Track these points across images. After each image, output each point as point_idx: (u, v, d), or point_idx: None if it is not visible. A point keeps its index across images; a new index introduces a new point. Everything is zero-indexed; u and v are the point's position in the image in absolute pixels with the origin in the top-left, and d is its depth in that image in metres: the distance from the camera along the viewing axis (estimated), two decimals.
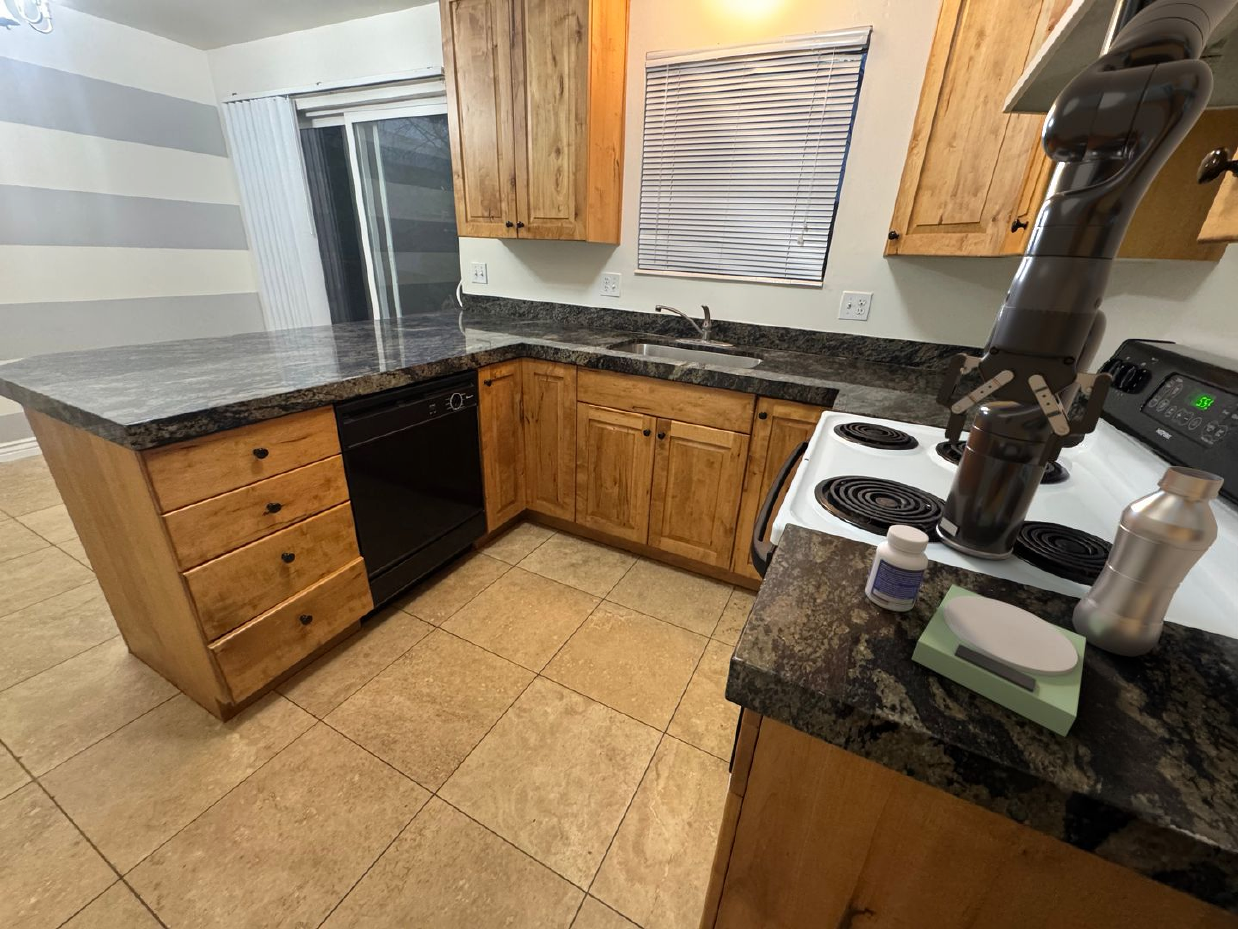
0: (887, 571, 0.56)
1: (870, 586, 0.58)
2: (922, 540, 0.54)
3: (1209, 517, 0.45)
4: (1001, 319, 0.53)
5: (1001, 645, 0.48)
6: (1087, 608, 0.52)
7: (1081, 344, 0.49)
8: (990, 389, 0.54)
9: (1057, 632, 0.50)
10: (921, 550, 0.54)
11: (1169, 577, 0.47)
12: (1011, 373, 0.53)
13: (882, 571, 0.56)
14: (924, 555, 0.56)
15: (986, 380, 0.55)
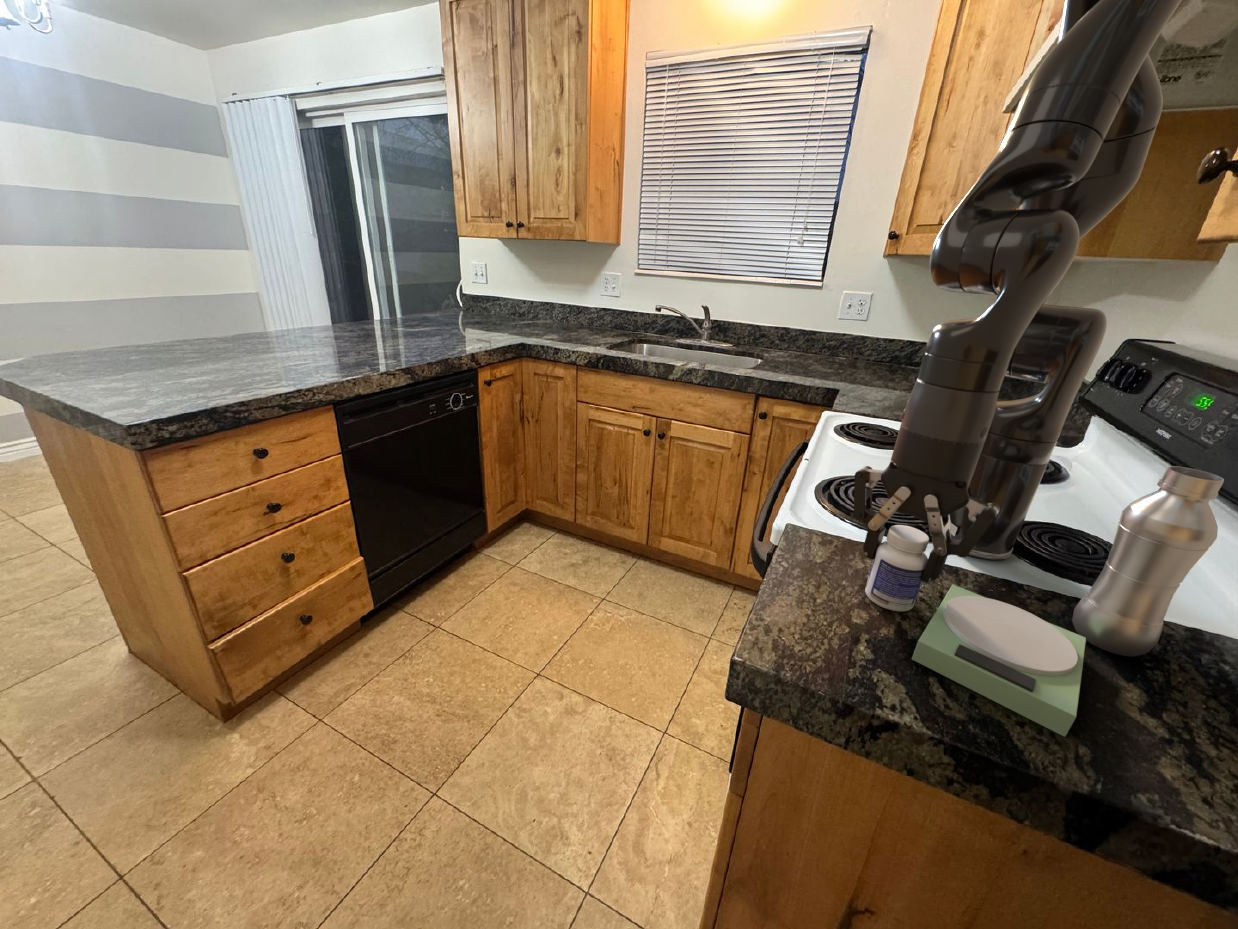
0: (887, 571, 0.56)
1: (870, 586, 0.58)
2: (922, 540, 0.54)
3: (1209, 517, 0.45)
4: (898, 436, 0.53)
5: (1001, 645, 0.48)
6: (1087, 608, 0.52)
7: (971, 470, 0.49)
8: (891, 502, 0.54)
9: (1057, 632, 0.50)
10: (921, 550, 0.54)
11: (1169, 577, 0.47)
12: (908, 490, 0.53)
13: (883, 571, 0.56)
14: (924, 555, 0.56)
15: (890, 496, 0.55)
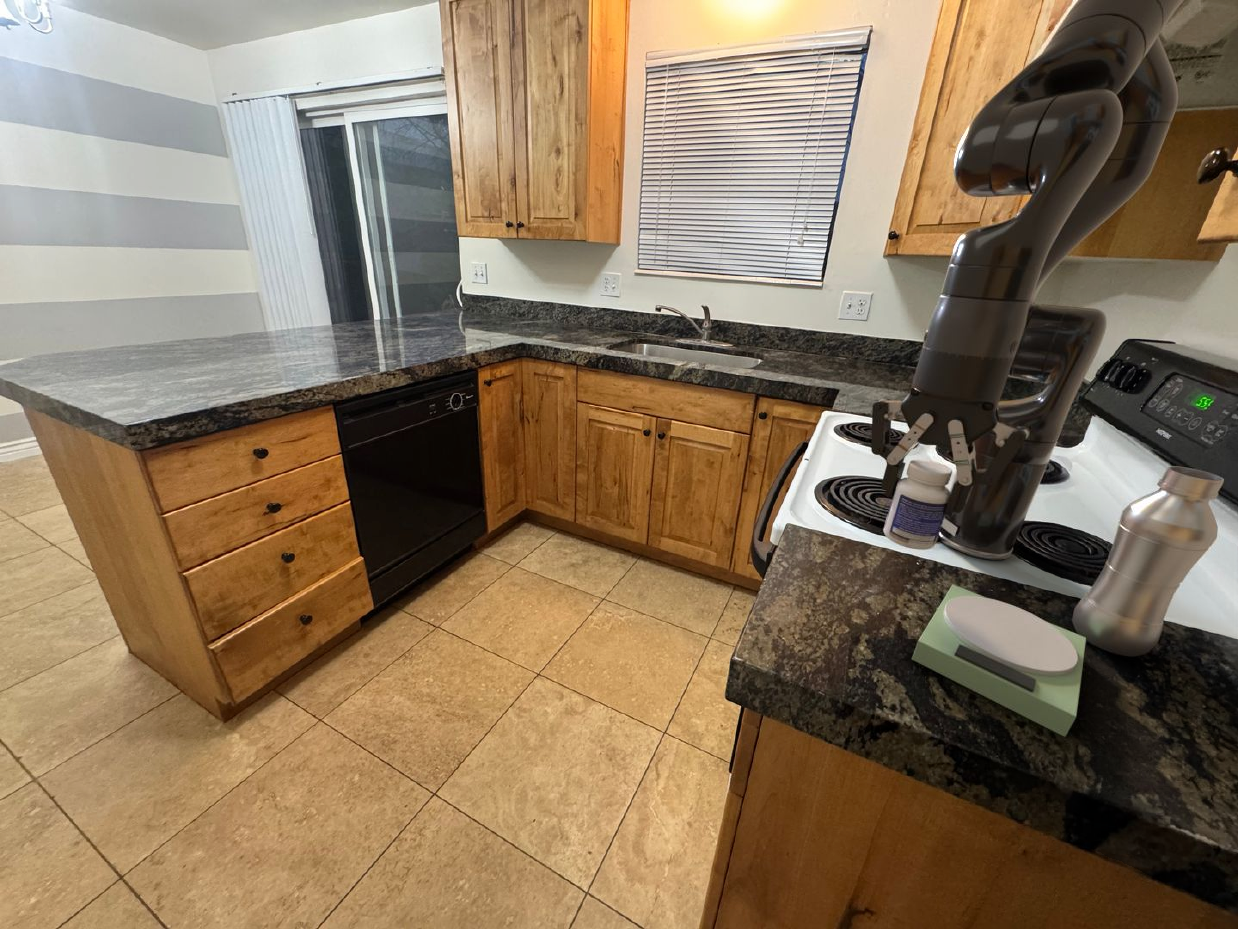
0: (908, 506, 0.53)
1: (889, 525, 0.55)
2: (945, 472, 0.51)
3: (1209, 517, 0.45)
4: (920, 360, 0.49)
5: (1001, 645, 0.48)
6: (1087, 608, 0.52)
7: (999, 389, 0.46)
8: (911, 432, 0.52)
9: (1057, 632, 0.50)
10: (944, 482, 0.51)
11: (1169, 577, 0.47)
12: (931, 417, 0.50)
13: (903, 507, 0.53)
14: (947, 489, 0.53)
15: (910, 426, 0.52)
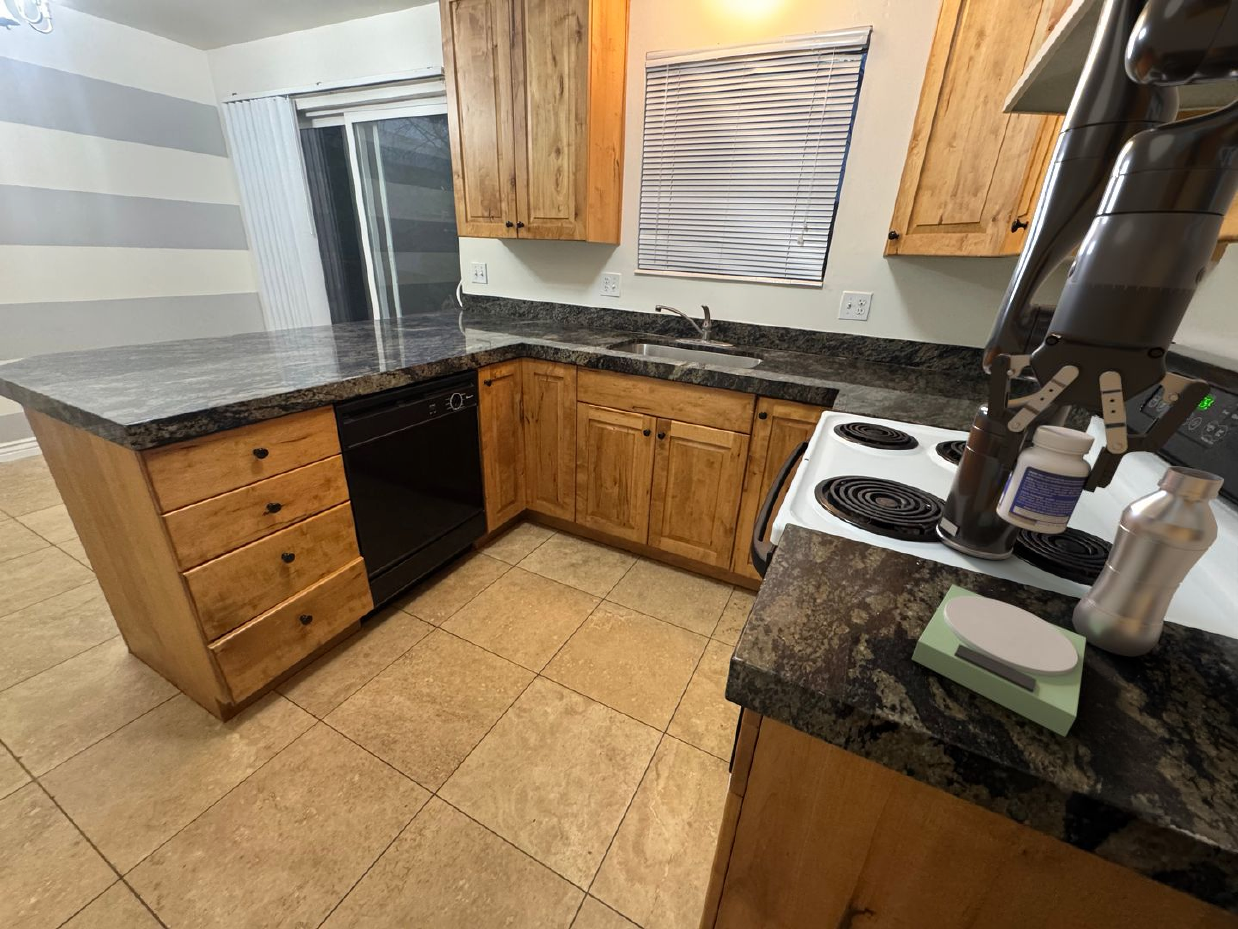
0: (1038, 481, 0.44)
1: (1008, 504, 0.46)
2: (1088, 438, 0.42)
3: (1209, 517, 0.45)
4: (1063, 299, 0.41)
5: (1001, 645, 0.48)
6: (1087, 608, 0.52)
7: (1174, 331, 0.37)
8: (1046, 390, 0.43)
9: (1057, 632, 0.50)
10: (1086, 451, 0.42)
11: (1169, 577, 0.47)
12: (1076, 369, 0.41)
13: (1030, 482, 0.44)
14: (1085, 460, 0.44)
15: (1043, 384, 0.43)
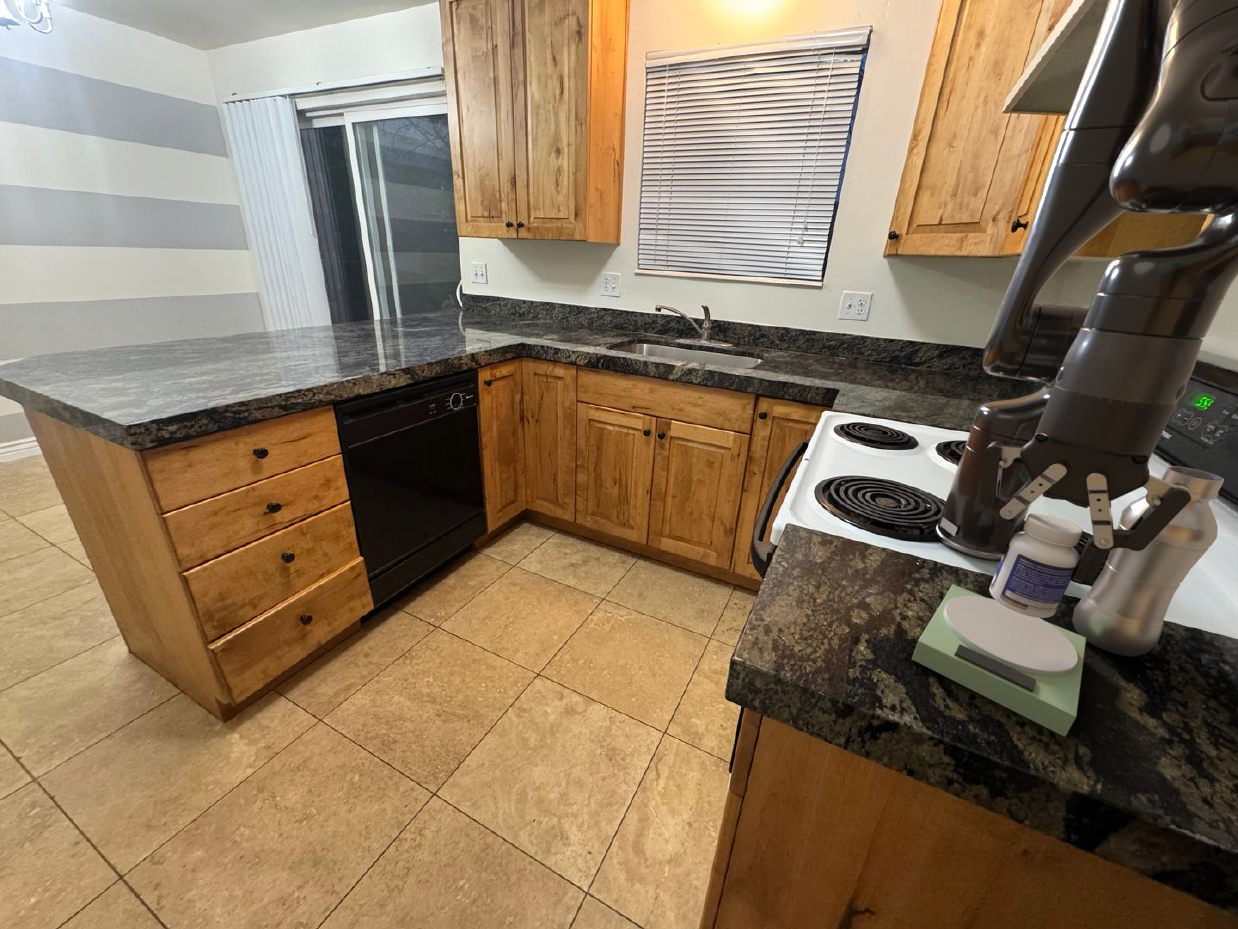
0: (1028, 569, 0.46)
1: (1000, 587, 0.48)
2: (1076, 531, 0.44)
3: (1209, 517, 0.45)
4: (1052, 402, 0.43)
5: (1001, 645, 0.48)
6: (1087, 608, 0.52)
7: (1157, 440, 0.39)
8: (1036, 484, 0.44)
9: (1057, 632, 0.50)
10: (1074, 543, 0.44)
11: (1169, 577, 0.47)
12: (1064, 468, 0.43)
13: (1021, 569, 0.46)
14: (1074, 549, 0.45)
15: (1033, 477, 0.45)
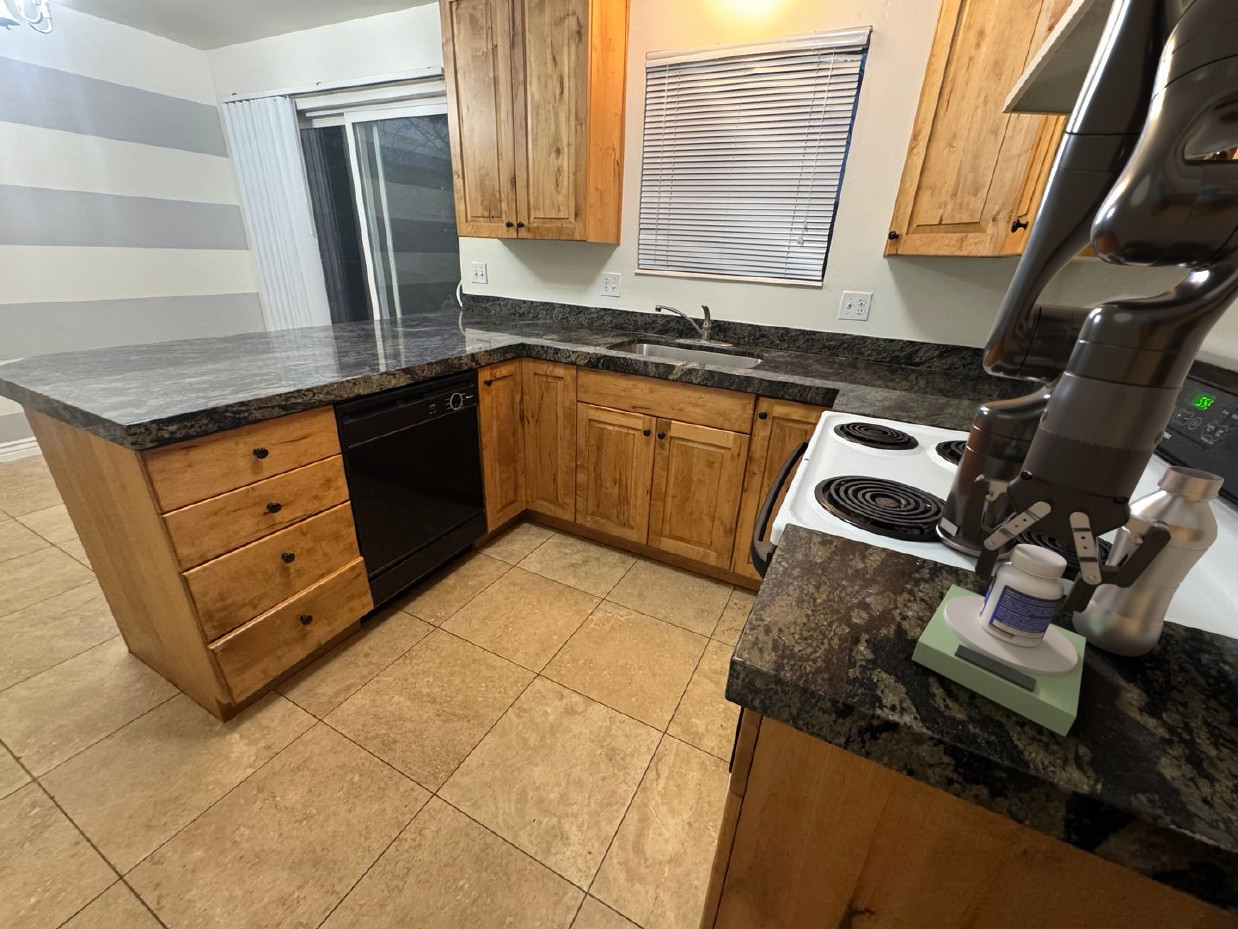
0: (1015, 600, 0.47)
1: (988, 616, 0.49)
2: (1060, 563, 0.45)
3: (1209, 517, 0.45)
4: (1036, 442, 0.44)
5: (1001, 645, 0.48)
6: (1087, 608, 0.52)
7: (1136, 482, 0.40)
8: (1022, 520, 0.46)
9: (1057, 632, 0.50)
10: (1059, 575, 0.45)
11: (1169, 577, 0.47)
12: (1048, 506, 0.44)
13: (1008, 599, 0.47)
14: (1059, 581, 0.47)
15: (1018, 511, 0.46)
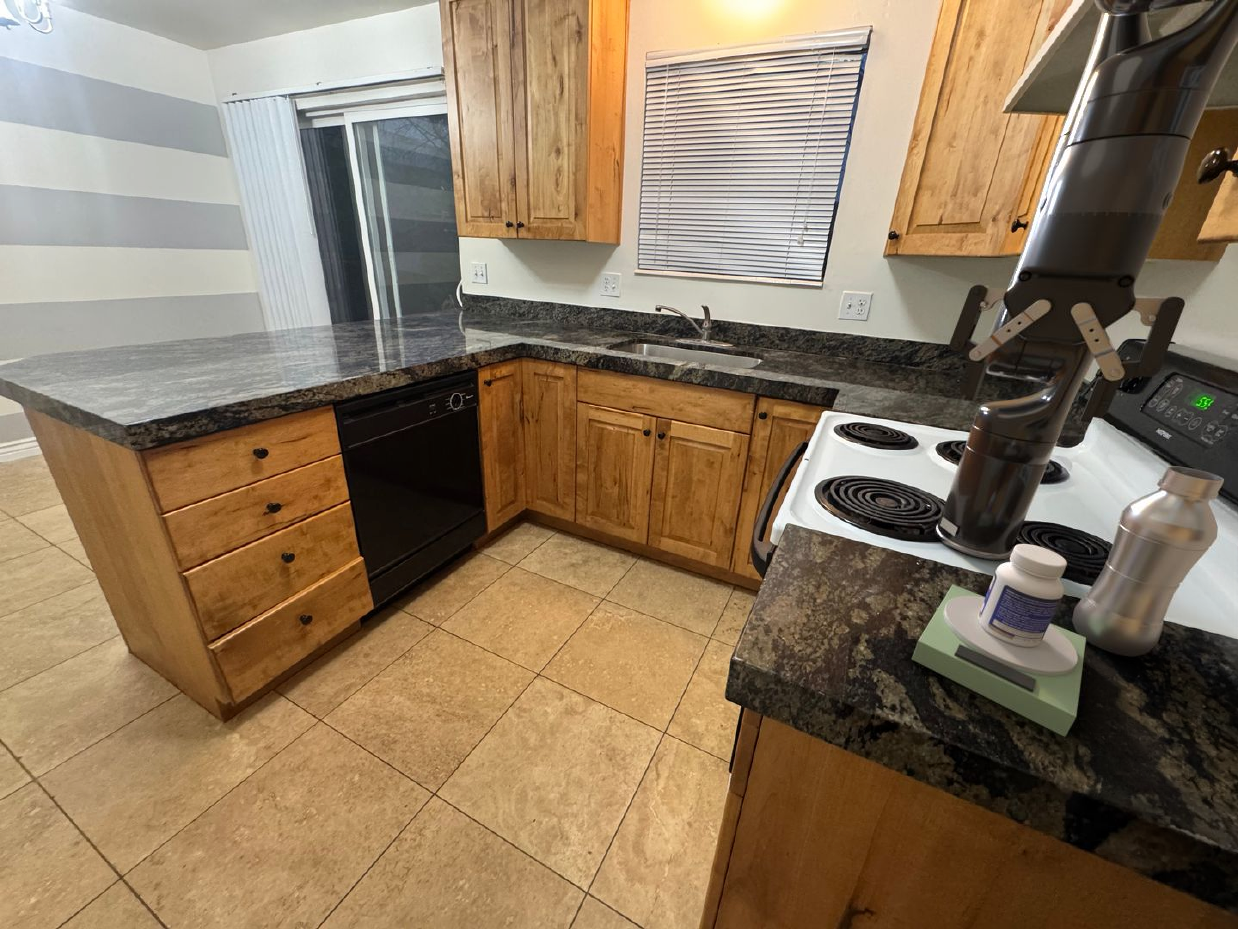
0: (1015, 600, 0.47)
1: (988, 616, 0.49)
2: (1060, 563, 0.45)
3: (1209, 517, 0.45)
4: (1035, 233, 0.41)
5: (1001, 645, 0.48)
6: (1087, 608, 0.52)
7: (1143, 258, 0.38)
8: (1020, 326, 0.43)
9: (1057, 632, 0.50)
10: (1059, 575, 0.46)
11: (1169, 577, 0.47)
12: (1048, 303, 0.41)
13: (1008, 599, 0.47)
14: (1059, 581, 0.47)
15: (1014, 315, 0.43)
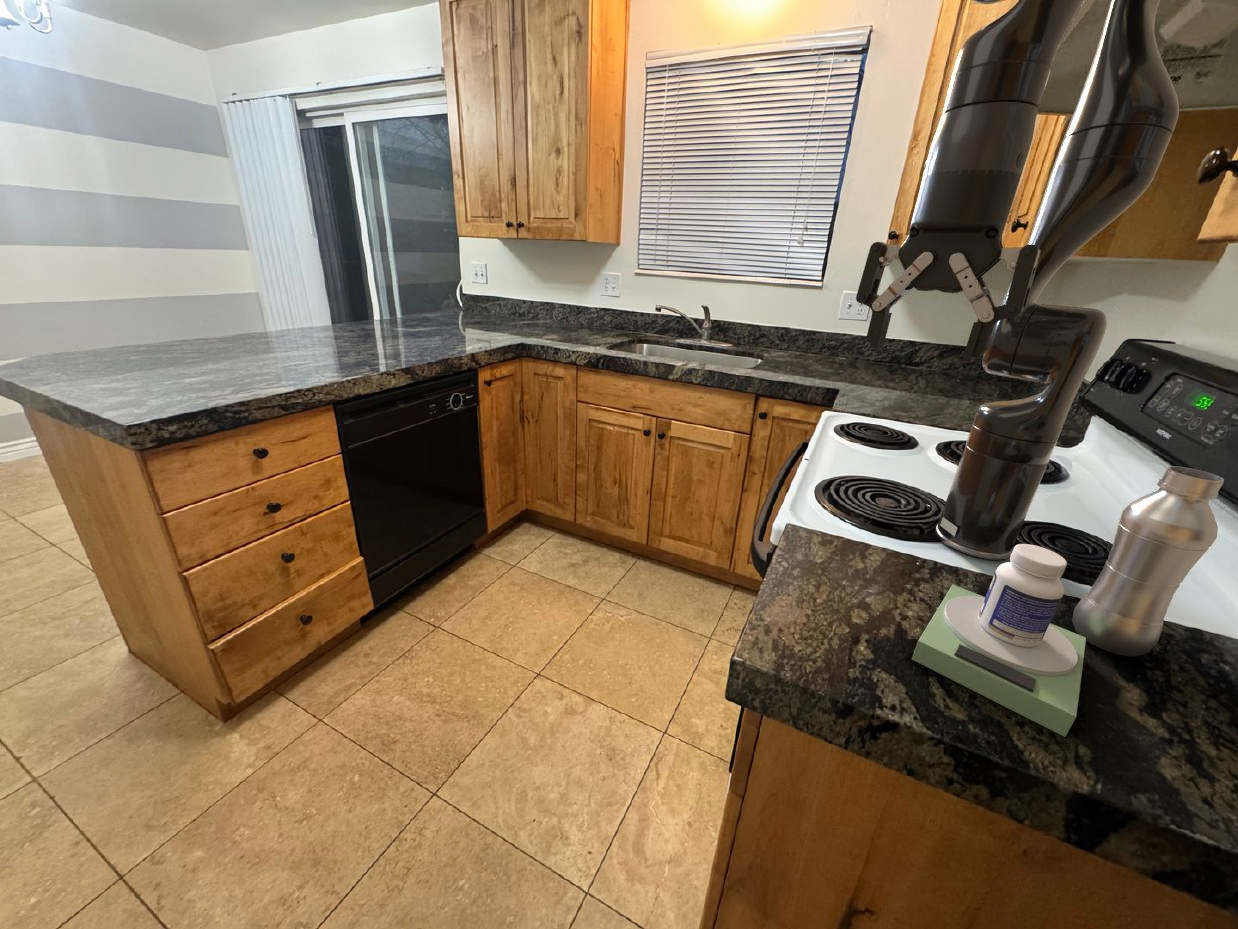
0: (1015, 600, 0.47)
1: (988, 616, 0.49)
2: (1060, 563, 0.45)
3: (1209, 517, 0.45)
4: (919, 193, 0.46)
5: (1001, 645, 0.48)
6: (1087, 608, 0.52)
7: (1004, 211, 0.43)
8: (910, 277, 0.48)
9: (1057, 632, 0.50)
10: (1059, 575, 0.46)
11: (1169, 577, 0.47)
12: (931, 254, 0.47)
13: (1008, 599, 0.47)
14: (1059, 581, 0.47)
15: (906, 268, 0.49)
